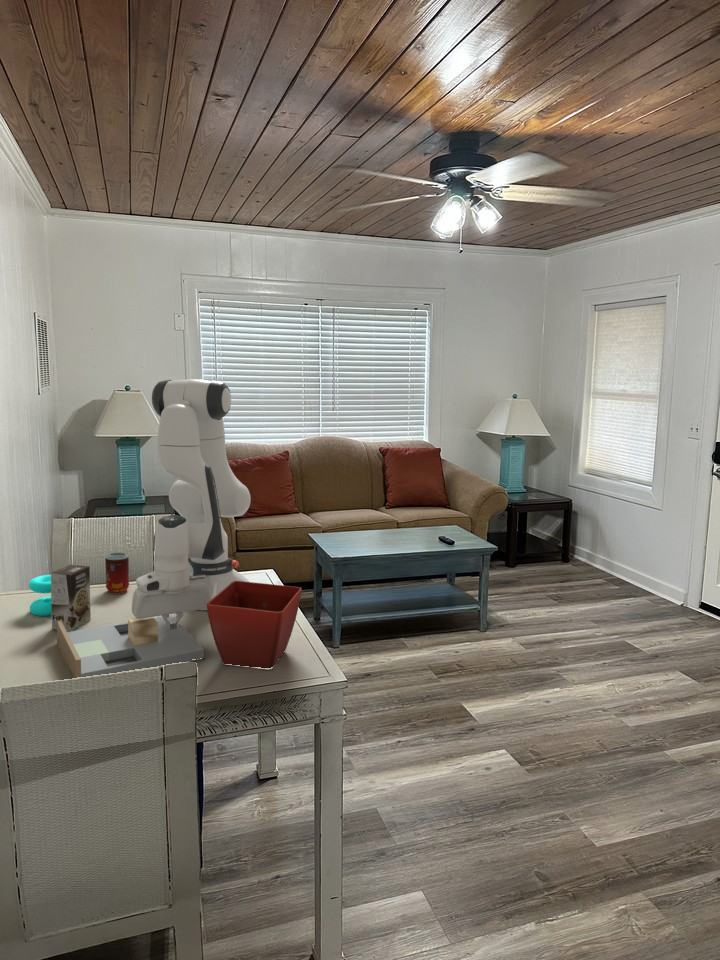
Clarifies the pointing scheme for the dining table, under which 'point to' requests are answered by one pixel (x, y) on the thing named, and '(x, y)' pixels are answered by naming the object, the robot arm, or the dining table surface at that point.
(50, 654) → the dining table surface
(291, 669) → the dining table surface
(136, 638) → the oak block
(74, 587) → the coffee box
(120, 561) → the soda can
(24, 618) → the dining table surface
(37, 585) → the cyan spool
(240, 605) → the plant pot
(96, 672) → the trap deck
